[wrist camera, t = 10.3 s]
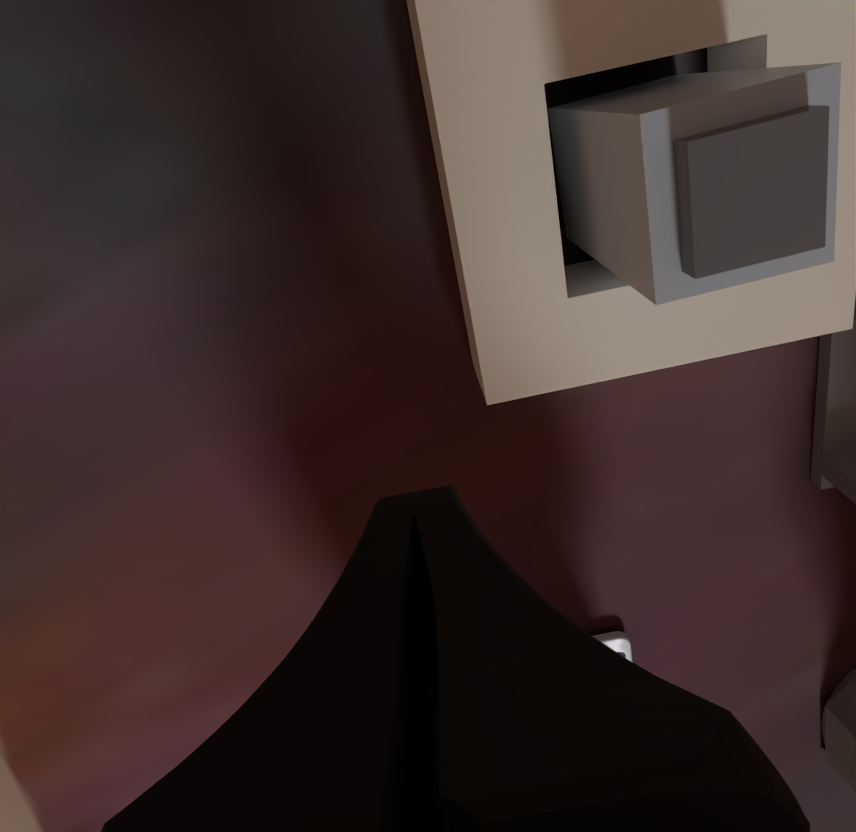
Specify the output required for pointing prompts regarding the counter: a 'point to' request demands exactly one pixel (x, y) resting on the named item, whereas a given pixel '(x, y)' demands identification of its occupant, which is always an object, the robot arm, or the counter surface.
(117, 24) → the counter surface
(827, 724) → the coffeepot
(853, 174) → the port
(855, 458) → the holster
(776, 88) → the plug
